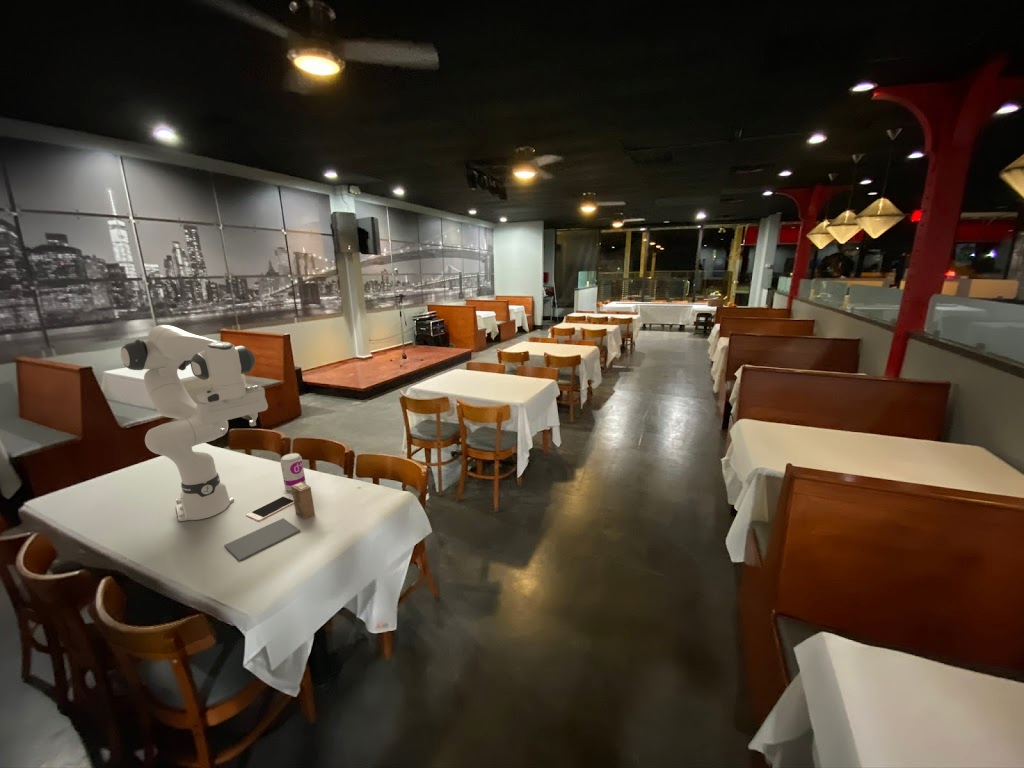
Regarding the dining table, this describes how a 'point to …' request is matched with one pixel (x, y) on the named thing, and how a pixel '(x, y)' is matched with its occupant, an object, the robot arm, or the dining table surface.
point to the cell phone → (271, 507)
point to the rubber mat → (261, 539)
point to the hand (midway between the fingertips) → (238, 429)
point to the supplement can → (292, 470)
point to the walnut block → (303, 500)
